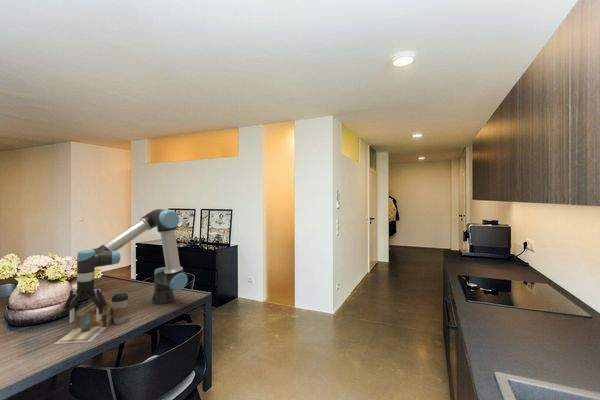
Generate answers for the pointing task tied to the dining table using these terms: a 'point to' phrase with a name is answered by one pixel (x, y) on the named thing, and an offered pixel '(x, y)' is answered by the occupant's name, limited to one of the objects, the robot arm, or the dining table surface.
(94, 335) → the mat
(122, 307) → the coffee cup
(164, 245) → the robot arm
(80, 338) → the lid
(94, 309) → the box
